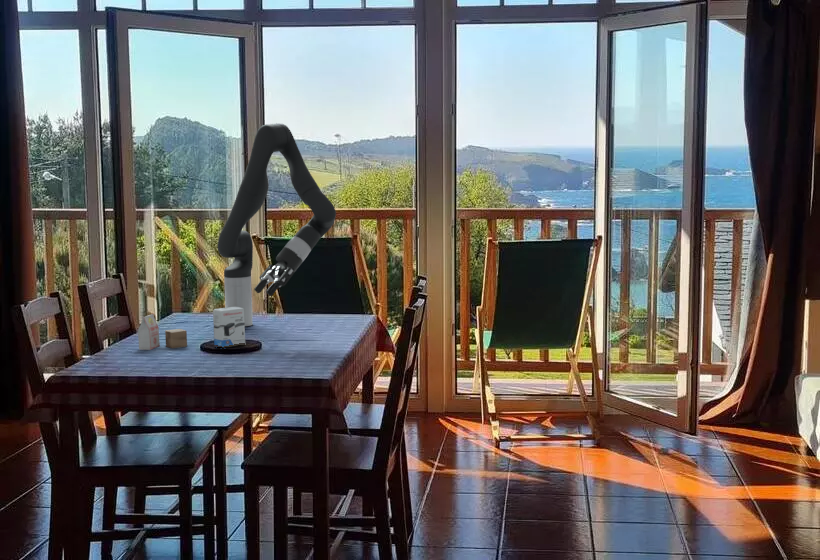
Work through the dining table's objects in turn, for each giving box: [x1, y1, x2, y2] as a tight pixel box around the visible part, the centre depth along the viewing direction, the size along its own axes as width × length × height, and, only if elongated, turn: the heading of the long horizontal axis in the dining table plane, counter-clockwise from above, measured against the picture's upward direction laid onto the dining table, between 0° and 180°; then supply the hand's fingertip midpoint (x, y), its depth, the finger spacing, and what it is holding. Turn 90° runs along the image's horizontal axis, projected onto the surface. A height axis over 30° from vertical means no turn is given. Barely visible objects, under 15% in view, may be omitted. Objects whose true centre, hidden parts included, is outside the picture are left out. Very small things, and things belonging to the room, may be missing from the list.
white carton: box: [137, 313, 161, 351], centre depth 296 cm, size 4×7×10 cm, turn 171°
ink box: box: [212, 307, 246, 347], centre depth 296 cm, size 8×5×12 cm, turn 131°
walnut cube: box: [164, 328, 188, 349], centre depth 298 cm, size 5×5×5 cm
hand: (262, 292), depth 302 cm, fingers open, 8 cm apart
